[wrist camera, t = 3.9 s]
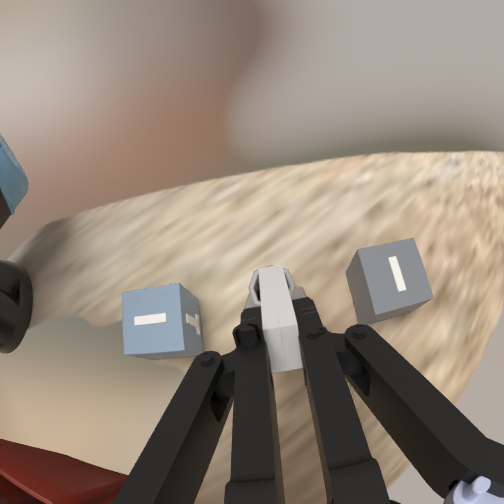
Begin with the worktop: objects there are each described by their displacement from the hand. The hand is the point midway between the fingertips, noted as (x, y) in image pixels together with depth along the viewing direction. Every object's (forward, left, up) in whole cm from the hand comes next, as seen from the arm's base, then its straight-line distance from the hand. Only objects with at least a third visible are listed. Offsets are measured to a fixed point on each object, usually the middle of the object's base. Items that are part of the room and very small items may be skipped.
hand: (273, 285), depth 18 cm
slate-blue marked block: (-9, -6, -11) cm, 16 cm away
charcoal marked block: (+9, +7, -11) cm, 16 cm away
